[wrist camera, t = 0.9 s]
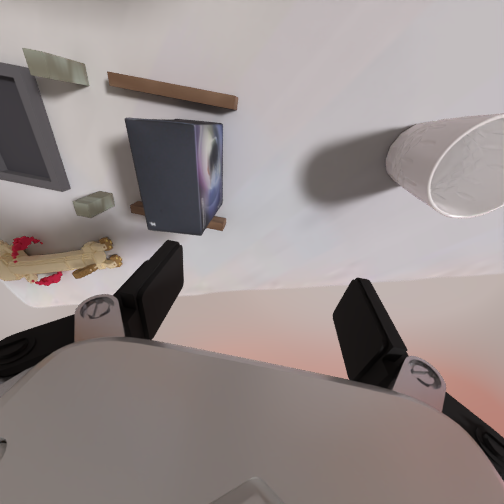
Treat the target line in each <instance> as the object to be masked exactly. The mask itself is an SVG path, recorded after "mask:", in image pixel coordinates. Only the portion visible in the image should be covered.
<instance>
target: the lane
mask: <svg viewBox="0 0 504 504" xmlns="http://www.w3.org/2000/svg"><path fill="white" fill-rule="evenodd" d="M22 49H23V52H24V55H25V58H26V61H27V64H28V67H29V70H30V74H31V75H33V76H38V77H44V78H49V79H54V80H60V81H65V82H71V83H76V84H82V85H87V86H89V82H88V77H87V73H86V68H85V64H83V63H80V62H76V61H73V60H70V59H66V58H63V57H59V56H56V55H52V54H49V53H45V52H42V51H36V50H31V49H26V48H22ZM107 73H108V79H109V85H110V86H114V87H119V88H124V89H129V90H135V91H140V92H145V93H150V94H155V95H161V96H166V97H171V98H176V99H181V100H187V101H192V102H197V103H202V104H208V105H213V106H218V107H223V108H228V109H234V110H237V104H238V97H236V96H233V95H228V94H222V93H217V92H212V91H207V90H201V89H196V88H191V87H186V86H181V85H175V84H170V83H165V82H160V81H154V80H149V79H144V78H139V77H134V76H128V75H123V74H118V73H113V72H107ZM73 204H74V208H75V211H76V214H77V215H78V216H83V217H88V218H92V217H94V216H96V215H98V214H100V213H102V212H104V211H106V210H108V209H110V208H112V207H113V206H115V204H114V199H113V194H112V193H107V192H102V191H99V192H96V193H93V194H91V195H88V196H86V197H83V198H81V199H78V200H76V201H73ZM130 208H131V213H134V214H139V215H144V216H145V213H144V208H143V203H142V202H141V201H137V202H135V203H133V204H132V205H130ZM225 225H226V218H222V217H217V216H214V217H213V218H212V220H211V221H210V223H209V224H208V226H207V227H206V228H210V229H215V230H220V231H223V229H224V227H225Z"/></svg>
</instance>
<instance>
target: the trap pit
mask: <svg viewBox="0 0 504 504" xmlns="http://www.w3.org/2000/svg"><path fill="white" fill-rule="evenodd" d="M0 179H1V180H6V181H11V182H16V183H21V184H26V185H31V186H36V187H41V188H46V189H51V190H56V191H61V192H63V191H66V190H69V189H71V188H70V185H69V182H68V179H67V176H66V172H65V169H64V166H63V163H62V160H61V157H60V154H59V151H58V148H57V144H56V141H55V138H54V135H53V132H52V129H51V126H50V123H49V120H48V116H47V113H46V110H45V107H44V104H43V101H42V98H41V95H40V92H39V89H38V85H37V82H36V79H35V76H33V75H31V74H30V70H29V68H26V67H21V66H16V65H11V64H6V63H1V62H0Z"/></svg>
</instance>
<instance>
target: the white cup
mask: <svg viewBox="0 0 504 504" xmlns="http://www.w3.org/2000/svg"><path fill="white" fill-rule="evenodd" d="M386 170H387V173H388V174H389V175H390V177H391V178H392V179H393V180H394V181H395V182H397V183H398V184H399V185H400V186H401V187H403V188H404V189H405V190H407V191H408V192H409V193H411V194H412V195H413V196H415V197H416V198H418V199H419V200H421V201H422V202H424V203H425V204H427V205H428V206H430V207H431V208H433V209H434V210H436V211H437V212H439V213H440V214H442V215H444V216H447V217H452V218H471V217H476V216H480V215H484V214H487V213H489V212H492V211H494V210H496V209H499V208H501V207H502V206H504V113H502V114H491V115H478V116H466V117H459V118H450V119H442V120H438V121H430V122H425V123H420V124H415V125H414V126H412V127H411V128H409V129H407V130H406V131H404V132H403V133H401V134H400V135H399V137H398V138H397V139H396V140H395V141H394V143H393V144H392V145H391V146H390V149H389V152H388V154H387V157H386Z"/></svg>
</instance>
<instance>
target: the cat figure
mask: <svg viewBox="0 0 504 504" xmlns="http://www.w3.org/2000/svg"><path fill="white" fill-rule="evenodd" d="M13 240H14V241H15V242H13V244H14V245H9V246H8V244H7V242H6V243H4V242H3V241H2V240H1V241H0V250H1V251H0V279H1V280H4V281H12V280H20V279H21V278H23V277H25V278H26V280H27V281H28V282H30V283H34V282H35V283H36V284H39V285H42V284H44V285H45V286H46V285H47V286H49V285H50V284H51V283H58V282H59V281H60V280H61V279H60V278H61V277H60V276H62V273H61V272H62V271H68V270H74V269H77V270H75V271H74V272H73V273H72V274H73V276H74V277H75V278H76V279H78V278H82V277H84V276H86V275H88V274H91V273H92V272H95V271H96V270H97V269H105V268H106V267H107V268H110V269H111V268H115V267H120V266H121V265H122V262H121V261H122V259H121V257H120V256H118V255H112V256H111V257H110V259H111V260H107V259H106V254H105V252H104V250H105V251H108V250H111V249H112V248H113V247H112V244H113V243H112V242H111V240H110V239H108V238H107V237H106V238H102V239H100V240H99V241H100V243H97V242H95V241H92V242H87V243H86V244H84V245H83V247H82V250H76V251H69V252H65V253H57V254H48V255H34V256H28V255H27V254H26V253H25V252H24V251H23V250H24V249H26V248H28V247H27V246H28V245H30V244H32V243H31V242H32V241H33V242H34V244H35V243H38V242H39V241H40V240H37V239H34V238H33V237H30V238H29V237H26V236H23V237H21V238H15V239H13ZM40 243H41V244H43V243H42V242H40ZM50 272H57V274H53V275H52V276H49V277H44V278H41V279H40V281H39V282H38V281H37V280H38V277H37V274H41V273H50Z"/></svg>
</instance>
